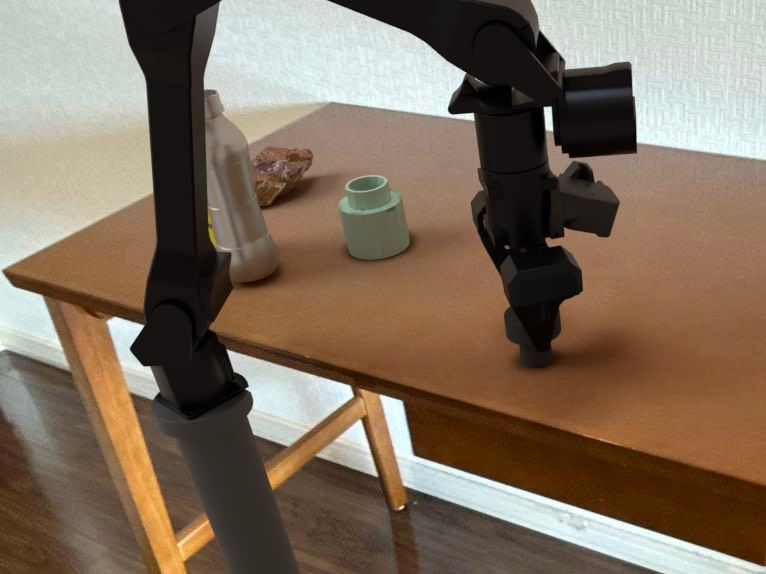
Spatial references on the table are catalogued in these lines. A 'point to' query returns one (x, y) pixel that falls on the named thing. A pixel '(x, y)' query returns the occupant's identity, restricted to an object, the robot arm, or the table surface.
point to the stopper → (528, 340)
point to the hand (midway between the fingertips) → (532, 327)
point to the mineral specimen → (278, 171)
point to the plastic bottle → (235, 197)
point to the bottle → (373, 218)
